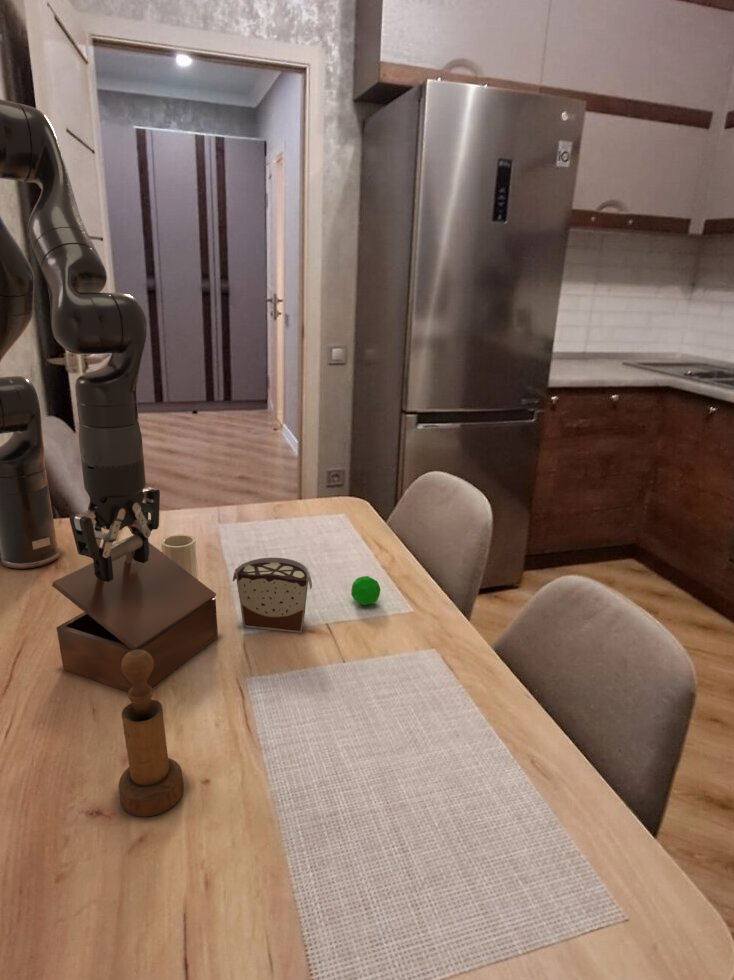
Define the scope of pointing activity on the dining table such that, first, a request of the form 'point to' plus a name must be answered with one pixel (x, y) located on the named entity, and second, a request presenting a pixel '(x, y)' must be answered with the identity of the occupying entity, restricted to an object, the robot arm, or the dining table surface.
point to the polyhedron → (365, 590)
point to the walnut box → (102, 652)
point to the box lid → (136, 593)
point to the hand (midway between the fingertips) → (123, 569)
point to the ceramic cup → (182, 552)
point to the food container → (273, 593)
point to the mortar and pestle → (146, 746)
